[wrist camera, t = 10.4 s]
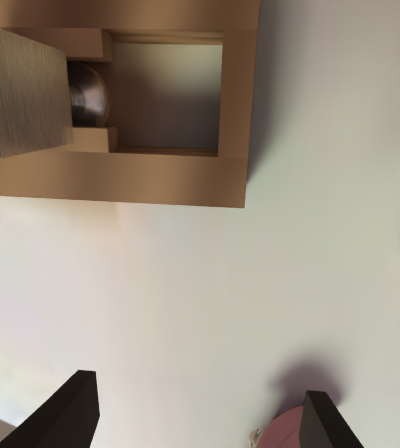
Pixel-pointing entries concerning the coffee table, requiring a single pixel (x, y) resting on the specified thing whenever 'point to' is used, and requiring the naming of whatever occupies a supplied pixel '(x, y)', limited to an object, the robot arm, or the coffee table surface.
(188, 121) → the coffee table surface
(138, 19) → the keyhole plate
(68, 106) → the steel peg
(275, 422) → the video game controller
